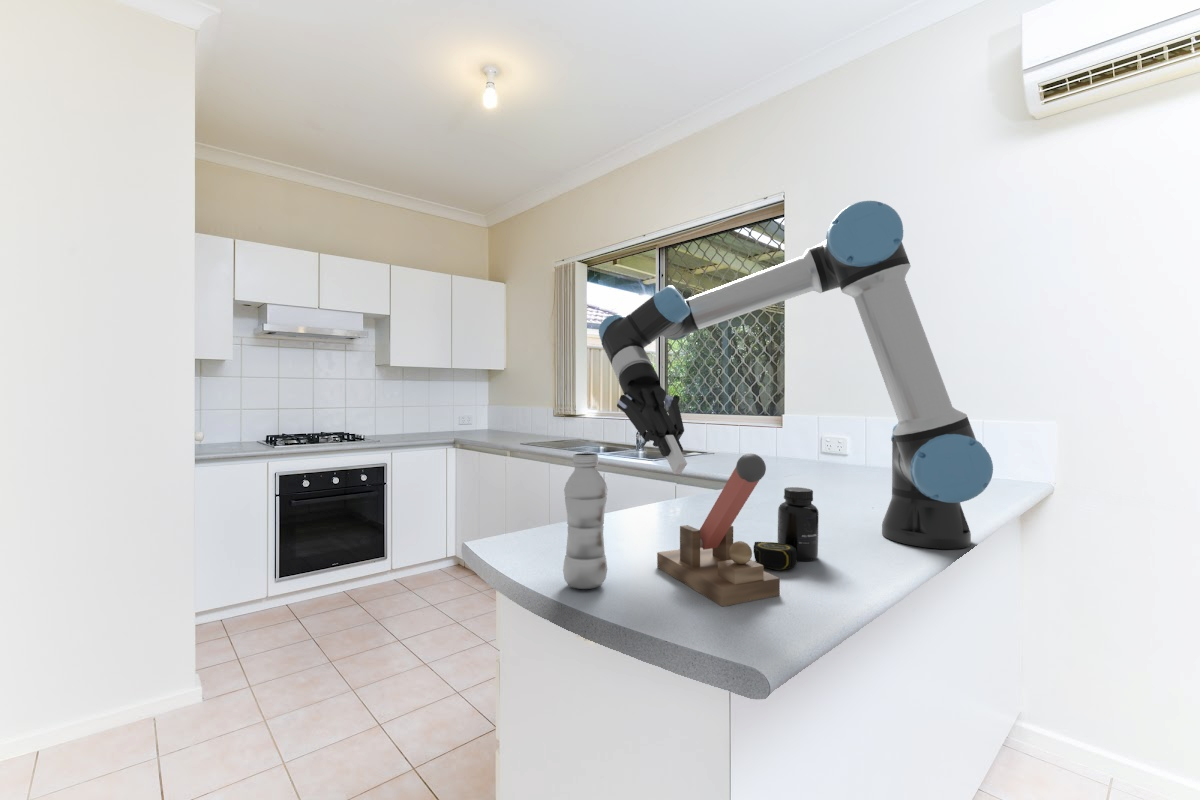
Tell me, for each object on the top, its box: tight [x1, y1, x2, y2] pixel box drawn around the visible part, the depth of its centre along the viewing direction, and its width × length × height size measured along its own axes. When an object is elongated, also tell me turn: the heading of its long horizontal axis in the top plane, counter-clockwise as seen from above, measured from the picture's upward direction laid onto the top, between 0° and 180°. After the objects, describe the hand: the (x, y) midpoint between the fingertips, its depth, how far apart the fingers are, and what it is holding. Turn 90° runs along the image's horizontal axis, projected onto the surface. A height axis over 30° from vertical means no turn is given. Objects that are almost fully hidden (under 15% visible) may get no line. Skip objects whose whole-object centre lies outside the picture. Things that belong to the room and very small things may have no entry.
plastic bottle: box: [562, 452, 609, 590], centre depth 81 cm, size 6×7×20 cm
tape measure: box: [753, 541, 797, 571], centre depth 91 cm, size 7×7×4 cm
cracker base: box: [656, 524, 781, 607], centre depth 84 cm, size 18×10×8 cm, turn 23°
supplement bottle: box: [777, 486, 820, 562], centre depth 96 cm, size 7×7×12 cm
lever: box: [699, 453, 767, 550], centre depth 81 cm, size 4×4×20 cm
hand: (680, 468), depth 93 cm, fingers closed
